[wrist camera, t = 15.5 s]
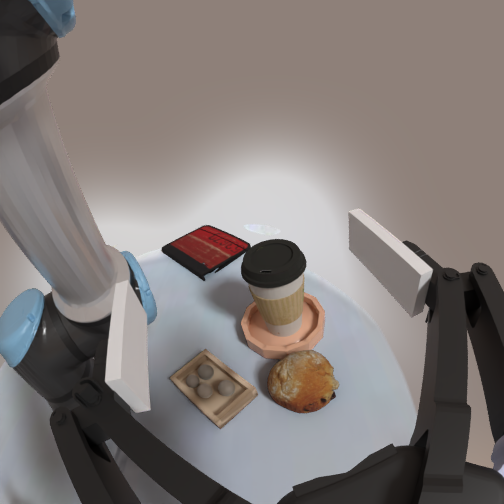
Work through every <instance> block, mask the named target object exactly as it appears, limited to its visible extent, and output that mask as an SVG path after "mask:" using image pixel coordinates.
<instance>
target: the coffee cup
mask: <svg viewBox="0 0 504 504" xmlns="http://www.w3.org/2000/svg"><path fill="white" fill-rule="evenodd" d="M305 268H306V259H305V256H304V254H303V253H302V252H301V251H300V249H299V248H298V246H297V245H296V244H295V243H293V242H291V241H288V240H283V239H273V240H267V241H263V242H260V243H258V244H256V245H254V246H252V247H251V248H250V249H249V250H248V251H247V252H246V253H245V255H244V258H243V262H242V265H241V274H242V277H243V279H244V280H245V281H246V282H247V283H248V284H249V289H250V292H251V294H252V296H253V299H254V301H255V303H256V305H257V308H258V310H259V312H260V314H261V316H262V318H263V320H264V321H265V323H266V326H267V328H268V330H269V331H270V333H272V334H273V335H275V336H279V337H286V336H290V335H293V334H295V333H296V332H297V331H298V330H299V329H300V327H301V325H302V312H303V299H304V274H303V272H304V271H305Z"/></svg>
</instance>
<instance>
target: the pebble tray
mask: <svg viewBox="0 0 504 504" xmlns="http://www.w3.org/2000/svg"><path fill="white" fill-rule="evenodd" d="M170 379H171V380H172V382H173V383H174V384H175V385H176V386H177V388H178V389H179V390H180V391H181V392H182V393H183V394H184V395H185V396H186V397H187V398H188V399H189V400H190V401H191V402H192V403H193V404H194V405H195V406H196V407H197V408H198V409H199V410H200V411H202V412H203V413H204V414H205V415H206V416H207V417H208V418H209V419H210V420H211V421H212V422H213V423H214V424H215V425H216V426H218V427H219V428H220V429H221V428H222V427H224V426H225V425H226V424H227V423H228V422H229V421H230V420H232V419H233V418H234V417H235V416H236V415H237V414H238V413H239V412H240V411H241V410H243V409H244V408H245V407H246V406H247V405H248V404H249V403H250V402H251V401H252V400H253V399H254V398H255V397H257V396H258V393H257V391H256V388H255V387H254V386H252V385H251V384H250V383H248V382H247V381H246V380H244V379H243V378H242V377H241V376H239V375H238V374H237V373H235V372H234V371H233V370H231V369H230V368H229V367H228V366H226V365H225V364H224V363H222V362H221V361H220V360H219V359H217V358H216V357H215V356H214V355H212V354H211V353H210V352H209V351H207V350H206V349H205V350H203V351H202V352H201V353H200V354H199V355H197V356H196V357H195V358H194V359H192V360H191V361H190V362H189V363H187V364H186V365H185V366H184V367H182V368H181V369H180V370H179V371H177V372H176V373H175V374H174V375H172V376H171V377H170Z"/></svg>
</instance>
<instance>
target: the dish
mask: <svg viewBox="0 0 504 504" xmlns="http://www.w3.org/2000/svg"><path fill="white" fill-rule="evenodd" d="M241 325H242V328H243V331H244V334H245V337H246V340H247V343H248V346H249V348H250V349H252V350H253V351H255V352H256V353H258V354H259V355H261V356H262V357H264V358H268V359H280V360H282V359H284V358H285V357H286V356H288V355H290V354H291V353H294V352H298V351H303V350H312V349H313V348H314V346H315V345H316V344H317V343H318V342H319V341H320V340H321V339H322V338H323V333H324V325H325V311H324V309H323V308H322V306H321V305H320V303H319V302H318V300H317V299H316V297H314V296H311V295H309V294H307V293H305V292H304V299H303V312H302V325H301V327H300V329H299V330H298V331H297V332H296V333H295V334H293V335H290V336H286V337H279V336H275V335H273V334H272V333H270V331H269V330H268V328H267V326H266V323H265V321H264V320H263V318H262V316H261V314H260V312H259V310H258V308H257V305H256V303H255V301H254V302H253V303H252V304H250V305H249V306H248V307H247V308H246V311H245V313H244V316H243V319H242V321H241Z"/></svg>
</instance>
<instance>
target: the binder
mask: <svg viewBox="0 0 504 504" xmlns="http://www.w3.org/2000/svg"><path fill="white" fill-rule="evenodd" d="M250 248H251V246H250V244H249V243H247V242H246V241H244V240H242V239H240V238H238V237H235V236H234V235H231V234H229V233H227V232H224V231H222V230H220V229H217V228H215V227H213V226H210V225H206V226H202V227H200V228H198V229H196V230H194V231H192V232H190V233H188V234H186V235H184V236H182V237H180V238H178V239H176V240H175V241H173V242H171V243H169V244H167V245H165V246H164V247H162V251H163V253H164V254H166V255H167V256H169V257H170V258H172V259H173V260H175V261H176V262H177V263H179V264H180V265H182V266H183V267H185V268H186V269H188V270H189V271H191V272H192V273H193V274H195V275H196V276H198V277H199V278H201V279H203V281H205V278H204V274H206V273H211V272H213V271H214V270H215V269H216V268H218V267H219V269H218V270H216V271H215V273H216V272H218V271H219V270H221V269H222V268H224V267H225V266H227V265H228V264H230V263H231V262H233V261H234V260H235V259H237V258H238V257H240V256H241V255H242V254H244V253H245V252H247V251H248V250H249V249H250Z"/></svg>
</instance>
